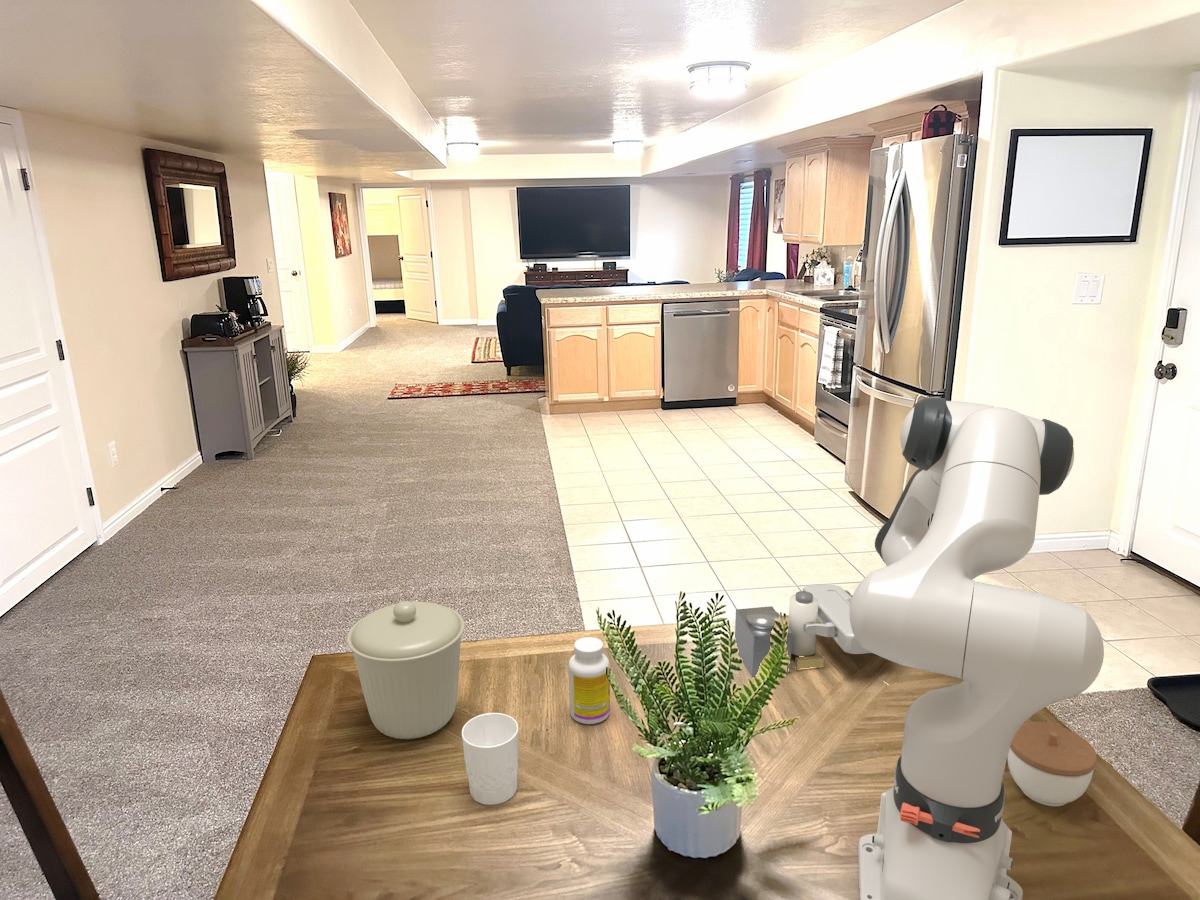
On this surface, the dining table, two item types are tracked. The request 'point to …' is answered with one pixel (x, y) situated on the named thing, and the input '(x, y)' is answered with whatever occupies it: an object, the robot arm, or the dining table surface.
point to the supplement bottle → (589, 682)
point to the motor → (763, 639)
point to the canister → (408, 666)
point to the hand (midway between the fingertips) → (797, 620)
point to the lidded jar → (1050, 763)
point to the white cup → (491, 757)
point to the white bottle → (802, 622)
